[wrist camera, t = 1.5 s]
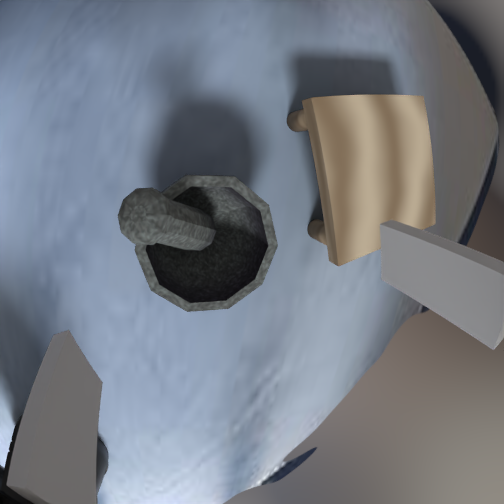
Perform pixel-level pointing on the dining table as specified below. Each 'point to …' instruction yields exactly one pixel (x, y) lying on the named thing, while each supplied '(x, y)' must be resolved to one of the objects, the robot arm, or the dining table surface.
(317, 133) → the oak footstool
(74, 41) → the dining table surface
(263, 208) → the mortar and pestle
